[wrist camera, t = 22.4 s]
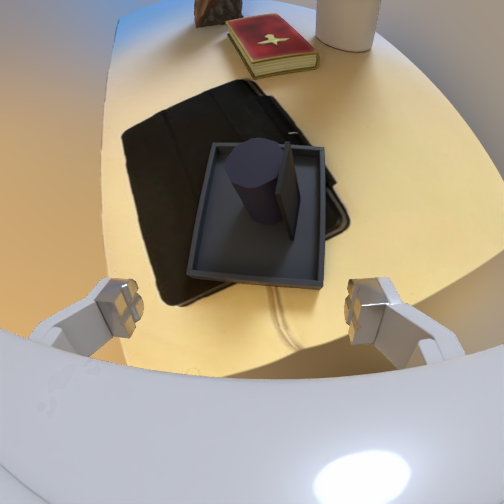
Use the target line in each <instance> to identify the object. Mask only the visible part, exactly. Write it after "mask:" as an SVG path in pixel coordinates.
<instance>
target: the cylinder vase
mask: <svg viewBox="0 0 504 504" xmlns="http://www.w3.org/2000/svg"><path fill="white" fill-rule="evenodd" d="M380 4H381V0H317V13H316V36H317V37H318V39H319V40H320V41H322V42H323V43H325V44H327V45H329V46H331V47H334V48H337V49H341V50H345V51H352V52H362V51H366V50H368V49H370V48H371V47H372V43H373V39H374V34H375V30H376V25H377V20H378V15H379V9H380Z"/></svg>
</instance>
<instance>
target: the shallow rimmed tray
mask: <svg viewBox="0 0 504 504" xmlns="http://www.w3.org/2000/svg"><path fill="white" fill-rule="evenodd" d="M239 144H241V143H212V147H211V151H210V156H209V160H208V164H207V169H206V173H205V178H204V182H203V187H202V192H201V196H200V201H199V206H198V211H197V216H196V222H195V227H194V232H193V238H192V243H191V249H190V255H189V261H188V267H187V273H186V275H188V276H189V277H191V278H194V279H203V280H212V281H222V282H232V283H242V284H253V285H264V286H276V287H289V288H301V289H315V290H320V289H321V288H322V287H323V279H324V257H325V155H324V147H314V146H302V145H291V150H292V155H293V160H294V165H295V170H296V175H297V180H298V186H299V191H300V197H301V201H300V208H299V214H298V220H297V226H296V232H295V238H294V241H290V238H289V235H288V232H287V229H286V225H285V222H284V220H282V221H280V222H278V223H276V224H274V225H264V224H262V223H260V222H258V221H255V220H253V219H252V218H251V216H250V214H249V213H248V211H247V209H246V207H245V206H244V204H243V202H242V200H241V199H240V197H239V195H238V194H237V192H236V190H235V188H234V187H233V185H232V183H231V181H230V179H229V177H228V175H227V173H226V171H225V169H224V166H225V160H226V159H227V157H228V156H229V155H230V153H231V152H232V150H233V149H234V147H235V146H237V145H239ZM284 145H285V144H279V146H280V147H281V149H282V150H284Z"/></svg>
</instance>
